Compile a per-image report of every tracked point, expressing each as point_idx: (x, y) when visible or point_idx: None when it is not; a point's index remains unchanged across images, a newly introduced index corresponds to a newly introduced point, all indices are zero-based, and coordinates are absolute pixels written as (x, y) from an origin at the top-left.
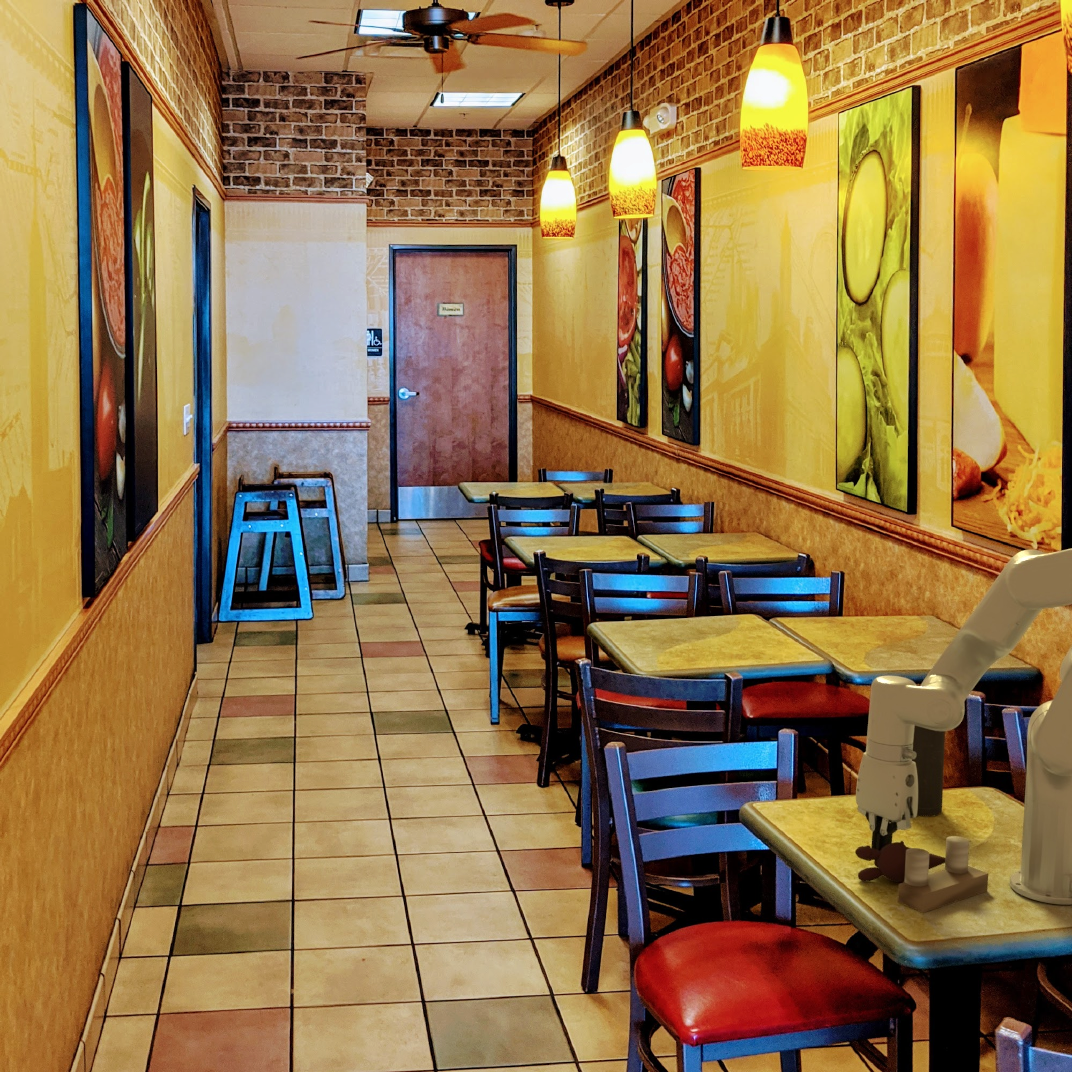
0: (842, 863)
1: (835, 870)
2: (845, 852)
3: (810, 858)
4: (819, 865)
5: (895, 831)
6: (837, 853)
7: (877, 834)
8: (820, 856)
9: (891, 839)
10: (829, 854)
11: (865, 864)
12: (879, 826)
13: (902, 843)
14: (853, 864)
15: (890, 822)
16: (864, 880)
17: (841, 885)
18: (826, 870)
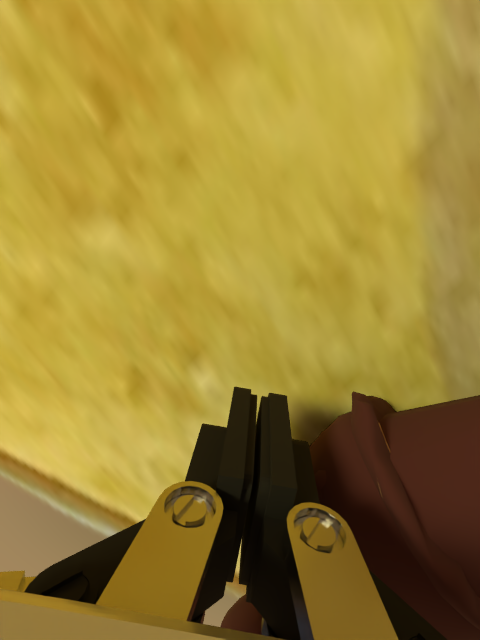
0: (115, 432)
1: (145, 502)
2: (36, 320)
3: (13, 468)
4: (79, 500)
5: (346, 533)
6: (27, 355)
7: (246, 597)
8: (17, 428)
9: (315, 496)
10: (19, 387)
11: (179, 379)
12: (212, 587)
13: (474, 621)
14: (148, 412)
15: (299, 614)
16: None
17: (243, 589)
18: (126, 520)
